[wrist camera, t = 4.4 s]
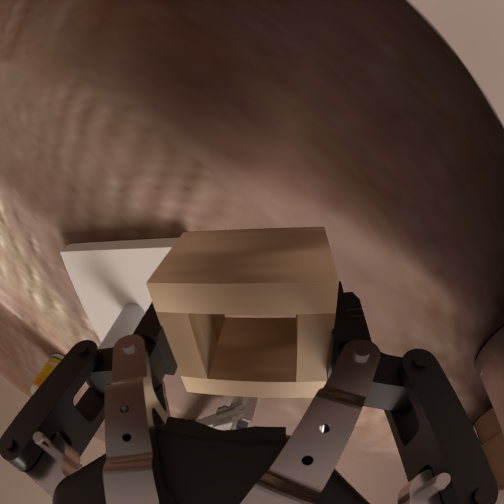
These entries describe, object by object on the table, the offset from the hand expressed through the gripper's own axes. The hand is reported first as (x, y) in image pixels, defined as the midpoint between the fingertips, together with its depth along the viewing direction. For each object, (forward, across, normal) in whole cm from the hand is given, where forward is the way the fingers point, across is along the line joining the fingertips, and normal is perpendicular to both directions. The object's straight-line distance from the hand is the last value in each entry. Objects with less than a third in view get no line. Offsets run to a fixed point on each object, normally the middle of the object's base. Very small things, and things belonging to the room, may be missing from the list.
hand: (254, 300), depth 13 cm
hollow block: (+1, 0, 0) cm, 1 cm away
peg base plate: (+8, +12, +6) cm, 15 cm away
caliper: (+9, +9, +24) cm, 27 cm away
